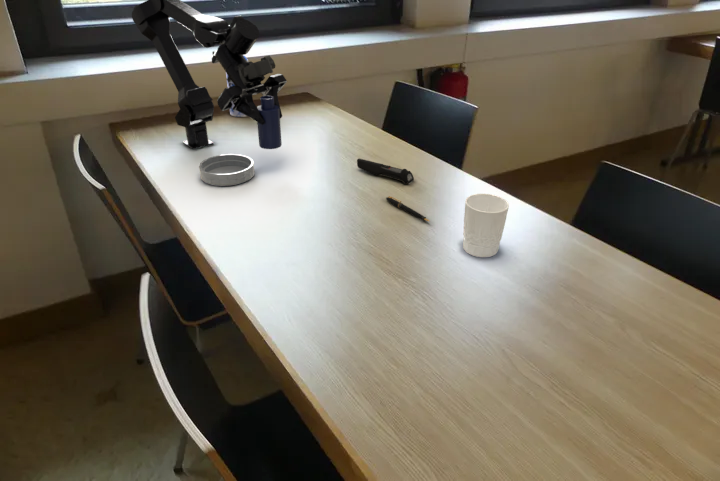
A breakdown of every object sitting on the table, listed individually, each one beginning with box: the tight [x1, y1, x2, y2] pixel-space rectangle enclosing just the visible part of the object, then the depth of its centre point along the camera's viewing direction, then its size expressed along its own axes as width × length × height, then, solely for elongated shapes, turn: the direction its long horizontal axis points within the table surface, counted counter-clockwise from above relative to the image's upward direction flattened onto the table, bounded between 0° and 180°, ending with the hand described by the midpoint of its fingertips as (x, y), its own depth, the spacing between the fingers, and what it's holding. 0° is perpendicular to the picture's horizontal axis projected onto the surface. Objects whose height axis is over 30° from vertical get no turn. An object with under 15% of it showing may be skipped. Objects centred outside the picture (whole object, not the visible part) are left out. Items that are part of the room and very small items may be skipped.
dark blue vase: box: [256, 95, 283, 150], centre depth 130 cm, size 6×6×12 cm
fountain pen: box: [385, 195, 430, 222], centre depth 116 cm, size 14×1×2 cm, turn 38°
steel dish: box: [198, 153, 256, 187], centre depth 131 cm, size 13×13×3 cm
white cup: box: [462, 193, 510, 258], centre depth 101 cm, size 8×8×10 cm
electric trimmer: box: [356, 158, 415, 185], centre depth 132 cm, size 4×16×3 cm, turn 56°
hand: (272, 120), depth 129 cm, fingers closed on dark blue vase, 5 cm apart
